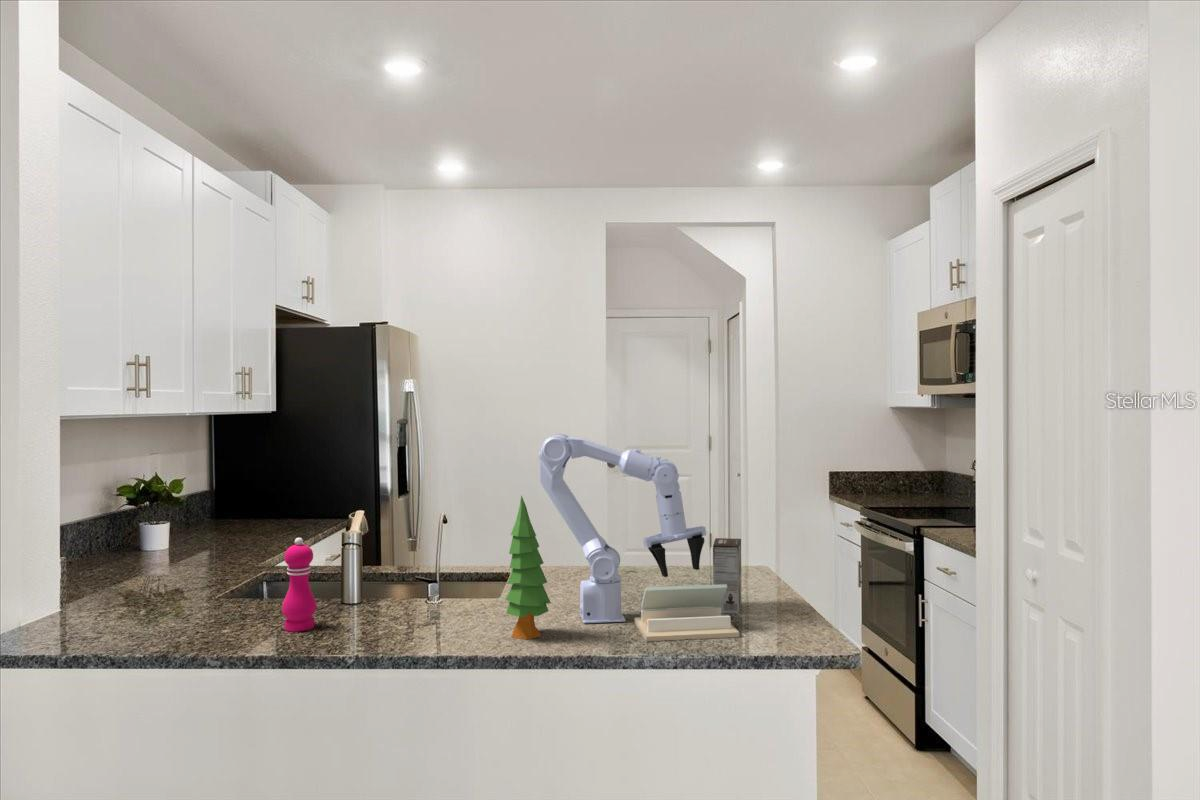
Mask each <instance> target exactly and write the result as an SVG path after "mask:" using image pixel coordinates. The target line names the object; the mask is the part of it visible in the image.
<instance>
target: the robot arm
mask: <svg viewBox="0 0 1200 800" xmlns="http://www.w3.org/2000/svg"><path fill="white" fill-rule="evenodd" d="M583 457H588V458H590V459H594V460H596V461H597V460H598V461H601V462H604V463H607V464H611V465H614V466H618V467H619V469H620V471H621V473H622V474H624V475H626V476H629V477H634V478H635V479H640V480H642V481H645V482H652V481H653V484H654V486H655V490H656V495H655V498H656V504H657V505H656V506H657V512H658V518H659V522H660V523H659V524H660V530H661V533H658V534H654V535H652V536H649V537H643V544H644V548H646V549H648V550H649V552H650V553H651V555H652V556H653V559H654V560H655V562H656V563H657V565H658V568H659V570H660V573H661V576H662V577H664V578H668V577H669V573H668V567H667V561H666V548H665V547H664V546H663V545H665V544H669V543H673V542H678V541H682V540H686V541H687V545H688V548H689V553H690V558H691V565H692V569H693V570H696V571H699V570H700V562H701V561H700V560H701V554H702V549H703V547H704V544H705V536H707V530H706V529H707V528H706V526H704V525H700V526H695V527H689V528H687V524H686V517H685V511H684V510H685V509H684V504H683V498H682V497H683V496H682V492H681V491H680V483H679V482H678V481H679V477H680V475H679V472H678V468H677V466H676V464H675V463H674V462H672V461H670V460H668V459H666V458H665V459H661V456H658V455H656V457H655V456H651V455H649V454H645V453H642V452H641V449H639V448H635V449H628V450H626V451H624V452H622V451H618V450H616V449H614V448H611V447H608V446H604V445H603V444H599V443H596V442H594V441H591V440H590V439H589V440H588V439H586V438H582V437H578V436H573V435H570V436H569V435H567V434H563V433H558V434H554V435H553V436H550V437H548V438H546V439H545V440H544V442H543V443H542V446H541V449H540V451H539V454H538V458H539V459H538V461H539V483H540V484H541V487H542V488H543V489H544V491H545V492H546V494H547V496H548V497H549V499H550V500H551V502H552V503H553V505H554V507H555V508H556V509H557V511H558V512H559V514H560V515H561V517H562V519H563V521H564V522H565V524H566V525H567V526H568V528H569V529H570V531H571V532H572V534H573V537H575V538H576V540H577V542H578V543H579V545H580V547H581V548H582V551H583V553H584V557H585V559H586V560H587V562H588V564H589V572H590V574H591V575H589V579H587V580H584V579H583V580H581V581H580V583H579V584H580V587H579V593H580V594H579V600H580V601H579V615H580V617H581V620H582V622H583V624H601V623H605V624H606V623H622V622H626V617H625V616H624V615H623V613H622V576H621V575H619V573H618V571H619V566H620V564H621V555H620V554H619V552H618V551H617V550H616V549H615V548H613V547H612V546H610V545H609V544H608V543H607V541H606V539H604V538H603V537H602V535H600V534H599V532H598V531H597V529H596V527H595V526H594V524H593V523H592V522H591V520H590V518H589V516H588V515H587V514H586V512H585V510H584V509H583V507H582V506H581V504H580V503H579V501H578V500H577V498H576V496H575V495H574V494H573V492H572V490H571V489H570V487H569V486H568V484H567V483H566V481H565V479H564V475H565V474H564V473H565V470H566V466H567V463H568V462H569V460H570V458H571V459H577V458H578V459H579V458H583Z"/></svg>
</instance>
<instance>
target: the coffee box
mask: <svg viewBox="0 0 1200 800" xmlns="http://www.w3.org/2000/svg"><path fill="white" fill-rule="evenodd" d="M720 584H727V590H726V592H725V595H724V597H723V600H722V603H721V605H720V606H717V607H721V614H735V613H736V614H738V615H739V614H740V612H741V607H742V538H727V537H725V538H724V537H723V538H719V537H717V538H715V539H714V541H713V544H712V585H720Z"/></svg>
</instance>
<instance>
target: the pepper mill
mask: <svg viewBox="0 0 1200 800" xmlns="http://www.w3.org/2000/svg"><path fill="white" fill-rule="evenodd" d="M303 543H304V539H303V538H302V537H296V538H295V539H294V544H293V545H290V546H289V547H288V548H287V549H286V551H285V553H284V562H285V564H286V565H287V568H286V574H287V575H288V577H289V586H288V589H287V592H286V594H285V597H284V599H283V602H282V606H281V613H282V615H283V616H284V617H285V618H286V619H285V620H284V623H283V624H284V626H283V627H284V630H285V631H287V632H293V633H294V632H297V633H298V632H305V631H309V630H311V629H314V627H315V625H316V624H315V620H316V619H315V617H313V615H314V614H315V613H316V612H317V609H318V607H317V601H316V598H315V596H314V593H313V592H312V590H311V587H310V582H309V581H310V580H309V578H310V573H311V572H312V570H311V568H312V566H311V563H312V562H313V560H314V552H313V549H312V548H311V547H310V546H309V545H307V544H303Z"/></svg>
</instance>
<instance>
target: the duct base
mask: <svg viewBox="0 0 1200 800" xmlns="http://www.w3.org/2000/svg"><path fill="white" fill-rule="evenodd" d="M640 611H641V613H640V616H639V617H634V620H633V621H634V624H635V625H636V627H637V629H638V628H639V629H638V631H639V632H640V633H641V635H642V637H643V639H644V640H645V641H646V642H664V641H665V640H666V641H684V640H686V639H688V640H704V639H705V640H706V639H708V640H709V639H726V638H728V639H729V638H740V631H739V630H738V629H737V628H736V627H734V625H732V623H731V616H730V615H723V614H722V613H721V607H693V608H669V609H645V610H640Z"/></svg>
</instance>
